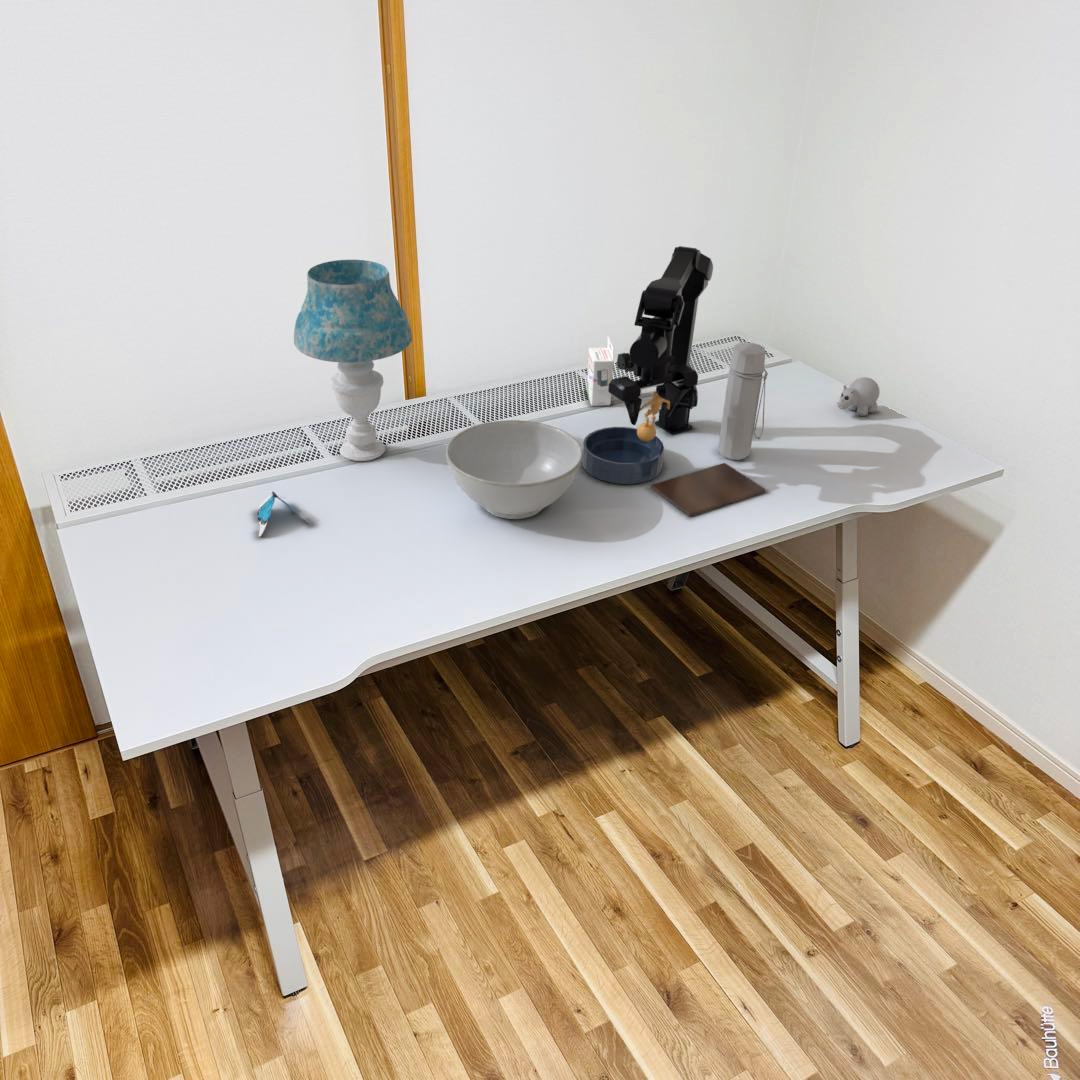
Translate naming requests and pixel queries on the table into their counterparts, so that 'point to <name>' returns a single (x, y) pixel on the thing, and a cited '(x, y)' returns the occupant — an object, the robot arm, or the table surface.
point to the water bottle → (742, 400)
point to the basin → (621, 456)
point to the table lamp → (353, 339)
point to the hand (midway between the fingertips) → (650, 420)
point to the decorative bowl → (514, 465)
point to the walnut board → (707, 489)
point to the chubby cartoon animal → (860, 396)
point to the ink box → (600, 375)
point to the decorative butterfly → (268, 510)
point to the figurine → (647, 429)
